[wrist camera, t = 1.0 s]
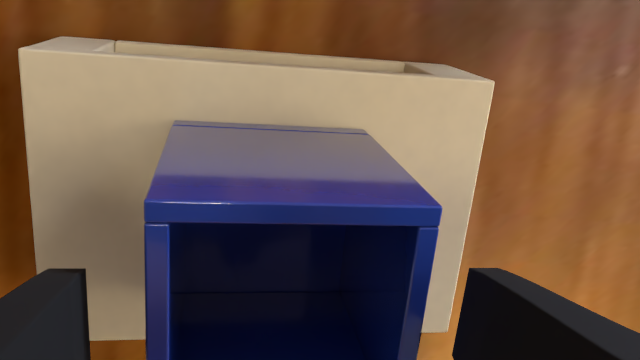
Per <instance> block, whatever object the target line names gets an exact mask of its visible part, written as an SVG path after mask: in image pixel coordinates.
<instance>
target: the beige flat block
mask: <svg viewBox="0 0 640 360" xmlns="http://www.w3.org/2000/svg"><path fill="white" fill-rule="evenodd" d="M18 57H19V69H20V81H21V92H22V104H23V116H24V128H25V140H26V152H27V164H28V175H29V187H30V199H31V211H32V223H33V235H34V246H35V258H36V270H37V275H38V274H39V273H41V272H43V271H45V270H47V269H48V268H86V284H87V303H88V321H89V340H90V341H98V340H141V339H146V337H145V267H144V223H145V221H144V199H145V196H146V194H147V191H148V188H149V185H150V183H151V180H152V177H153V175H154V172H155V169H156V166H157V164H158V161H159V158H160V156H161V153H162V150H163V147H164V145H165V142H166V139H167V137H168V134H169V131H170V128H171V126H172V124H173V121H175V120H181V121H201V122H222V123H242V124H263V125H283V126H304V127H324V128H345V129H363V130H365V131H366V132H367V133H368V134H369V135H371V136H372V137H373V138H374V139H375V140H376V141H377V142H378V143H379V144H380V145H381V146H382V147H383V148H384V149H385V150H386V151H387V152H388V153H389V154H390V155H391V156H392V157H393V158H394V159H395V160H396V161H397V162H398V163H399V164H400V165H401V166H402V167H403V168H404V169H405V170H406V171H407V172H408V173H409V174H410V175H411V176H412V177H413V178H414V179H415V180H416V181H417V182H418V183H419V184H420V185H421V186H422V187H423V188H424V189H425V190H426V191H427V192H428V193H429V194H430V195H431V196H432V197H433V198H434V199H435V200H436V201H437V202H438V203H439V204H440V205H441V206H442V208H443V209H442V215H441V221H440V225H439V226H438V227H439V232H438V238H437V244H436V250H435V255H434V261H433V267H432V273H431V279H430V284H429V290H428V296H427V302H426V308H425V313H424V319H423V325H422V331H421V333H438V332H447V331H448V326H449V321H450V316H451V311H452V305H453V300H454V295H455V289H456V284H457V279H458V274H459V268H460V263H461V258H462V253H463V247H464V242H465V237H466V232H467V226H468V221H469V216H470V211H471V205H472V200H473V195H474V189H475V184H476V179H477V174H478V168H479V163H480V158H481V153H482V147H483V142H484V137H485V132H486V126H487V121H488V116H489V111H490V105H491V100H492V95H493V89H494V84H495V82H494V81H492V80H489V79H485V78H483V77H480V76H477V75H474V74H471V73H468V72H465V71H463V70H460V69H457V68H454V67H451V66H448V65H444V64H430V63H417V62H400V61H391V60H377V59H364V58H350V57H337V56H323V55H309V54H296V53H282V52H269V51H255V50H242V49H228V48H215V47H201V46H188V45H174V44H161V43H147V42H134V41H120V40H118V41H116V42H115V41H114V40H105V39H91V38H78V37H64V36H61V37H58V38H54V39H51V40H48V41H44V42H41V43H38V44H34V45H31V46H28V47H27V46H26V47H22V48H19V49H18Z"/></svg>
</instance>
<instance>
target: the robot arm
mask: <svg viewBox="0 0 640 360" xmlns="http://www.w3.org/2000/svg"><path fill="white" fill-rule="evenodd" d="M452 356H453V359H454V360H640V333H637V332H635V331H633V330H631V329H628V328H626V327H624V326H622V325H620V324H618V323H615V322H613V321H611V320H609V319H607V318H605V317H603V316H601V315H599V314H597V313H594V312H592V311H590V310H588V309H586V308H584V307H582V306H580V305H578V304H576V303H574V302H572V301H570V300H568V299H566V298H564V297H562V296H560V295H558V294H556V293H554V292H552V291H550V290H548V289H546V288H543V287H541V286H539V285H537V284H535V283H533V282H531V281H529V280H526V279H524V278H522V277H520V276H518V275H515V274H513V273H510V272H508V271H505V270H502V269H499V268H469V272H468V277H467V282H466V287H465V292H464V297H463V302H462V307H461V312H460V317H459V323H458V328H457V333H456V338H455V343H454V348H453V353H452ZM0 360H91V359H90V340H89V321H88V303H87V284H86V268H48V269H47V270H45V271H43V272H41V273H39V274H38V275H36V276H34V277H33V278H31V279H30V280H28V281H27V282H25V283H23V284H22V285H20V286H19V287H17V288H16V289H14V290H13V291H11V292H10V293H8V294H7V295H5V296H4V297H2V298H1V299H0Z"/></svg>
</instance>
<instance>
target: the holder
mask: <svg viewBox="0 0 640 360" xmlns="http://www.w3.org/2000/svg"><path fill="white" fill-rule="evenodd" d="M442 209H443V208H442V206H441V205H440V204H439V203H438V202H437V201H436V200H435V199H434V198H433V197H432V196H431V195H430V194H429V193H428V192H427V191H426V190H425V189H424V188H423V187H422V186H421V185H420V184H419V183H418V182H417V181H416V180H415V179H414V178H413V177H412V176H411V175H410V174H409V173H408V172H407V171H406V170H405V169H404V168H403V167H402V166H401V165H400V164H399V163H398V162H397V161H396V160H395V159H394V158H393V157H392V156H391V155H390V154H389V153H388V152H387V151H386V150H385V149H384V148H383V147H382V146H381V145H380V144H379V143H378V142H377V141H376V140H375V139H374V138H373V137H372V136H371V135H369V134H368V133H367V132H366V131H365V130H363V129H345V128H324V127H304V126H283V125H263V124H242V123H222V122H201V121H181V120H175V121H173V124H172V126H171V128H170V131H169V134H168V137H167V139H166V142H165V145H164V147H163V150H162V153H161V156H160V158H159V161H158V164H157V166H156V169H155V172H154V175H153V177H152V180H151V183H150V185H149V188H148V191H147V194H146V196H145V199H144V221H145V223H144V267H145V337H146V360H417V354H418V348H419V342H420V337H421V331H422V325H423V319H424V313H425V308H426V302H427V296H428V290H429V284H430V279H431V273H432V267H433V261H434V255H435V250H436V244H437V238H438V232H439V227H438V226H439V225H440V221H441V215H442Z"/></svg>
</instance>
